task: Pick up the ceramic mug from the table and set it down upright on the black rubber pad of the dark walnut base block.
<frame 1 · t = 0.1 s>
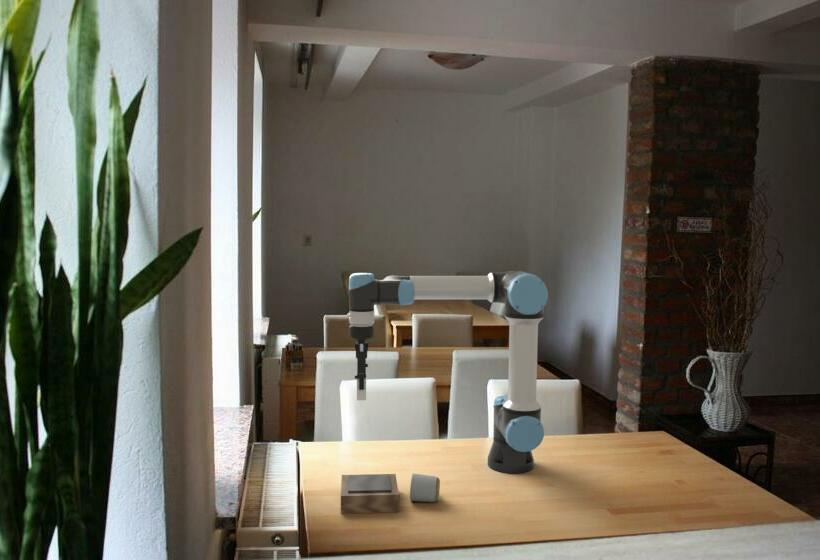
hand: (361, 394, 220), 28 cm above the table, tool pointing down, fingers open, 13 cm apart
ceramic mug: (424, 499, 212), on the table
walnut base: (369, 501, 210), on the table
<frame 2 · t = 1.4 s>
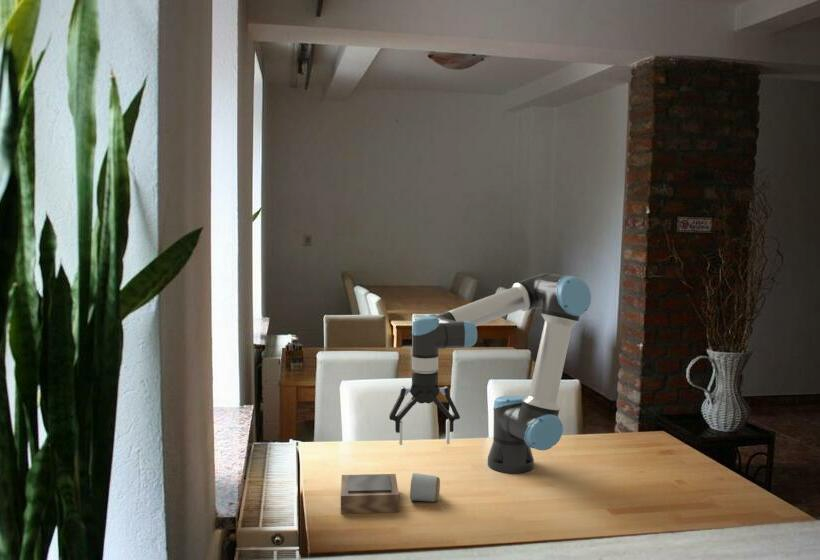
hand: (424, 443, 210), 17 cm above the table, tool pointing down, fingers open, 13 cm apart
nothing on the table moved.
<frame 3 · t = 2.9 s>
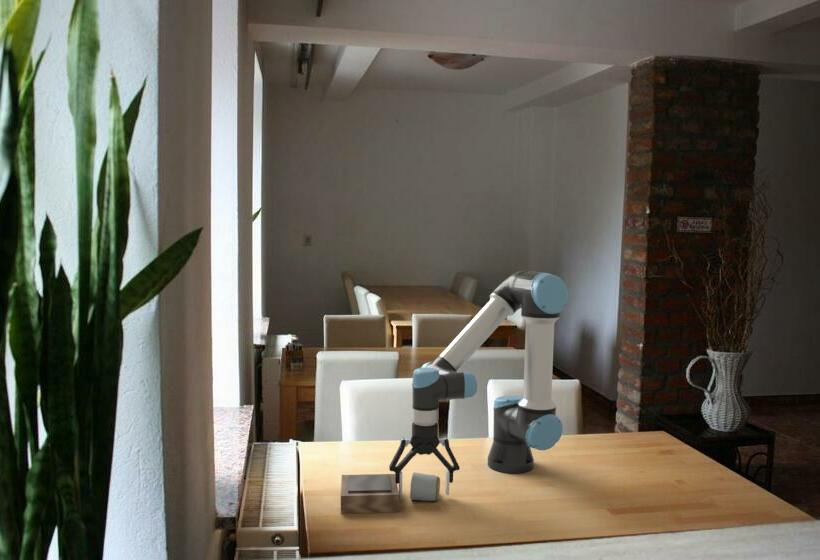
hand: (423, 493, 212), 1 cm above the table, tool pointing down, fingers open, 13 cm apart
nothing on the table moved.
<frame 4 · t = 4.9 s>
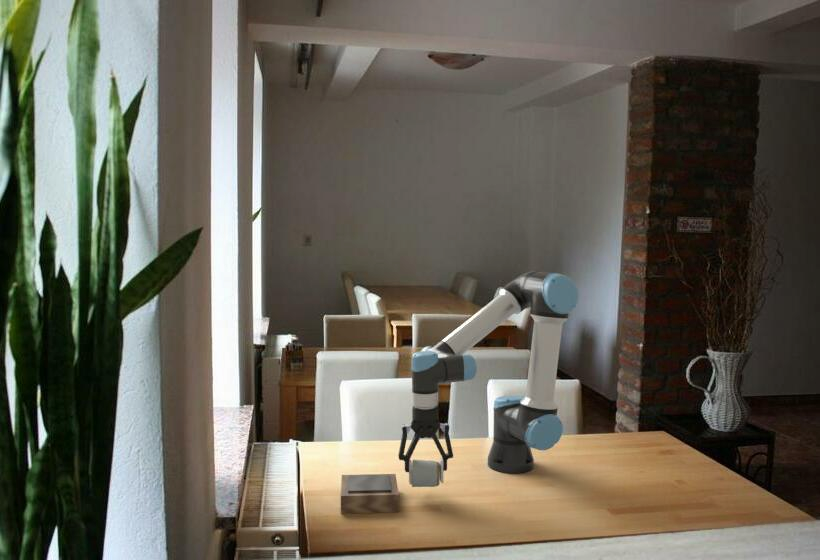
hand: (426, 481, 212), 5 cm above the table, tool pointing down, fingers closed on ceramic mug, 8 cm apart
ceramic mug: (425, 484, 212), point 4 cm above the table, touching gripper
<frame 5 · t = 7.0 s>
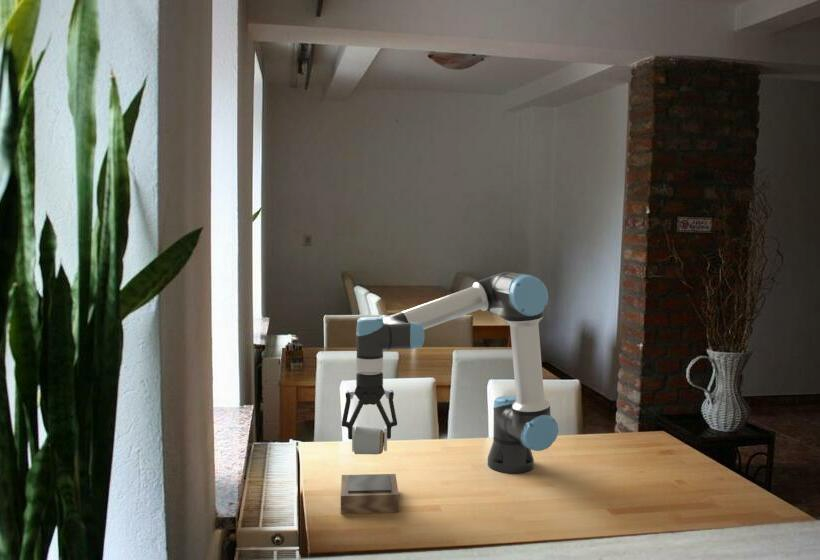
hand: (369, 449, 208), 15 cm above the table, tool pointing down, fingers closed on ceramic mug, 8 cm apart
ceramic mug: (368, 452, 209), point 14 cm above the table, touching gripper
when the fingers open (8 cm above the table, at t = 9.1 s): ceramic mug drops 1 cm, resting on walnut base.
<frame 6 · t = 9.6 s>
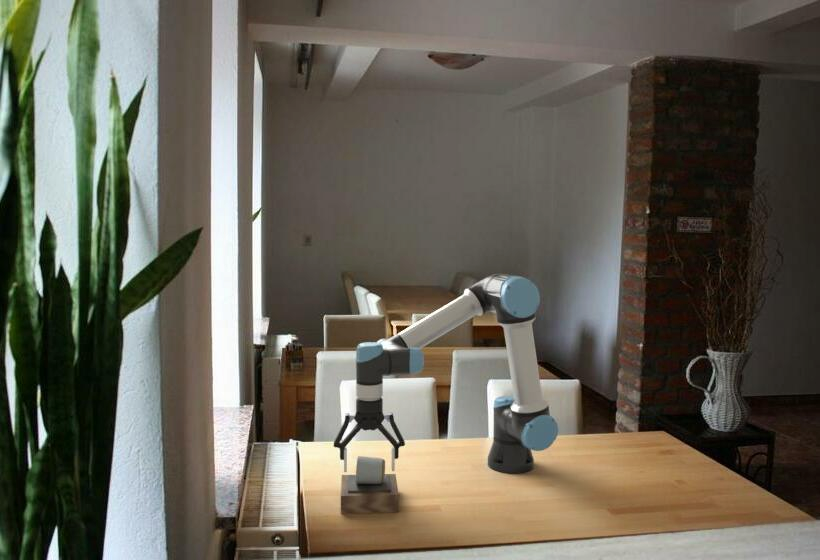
hand: (369, 470, 209), 9 cm above the table, tool pointing down, fingers open, 13 cm apart
ceramic mug: (369, 482, 210), point 5 cm above the table, touching walnut base
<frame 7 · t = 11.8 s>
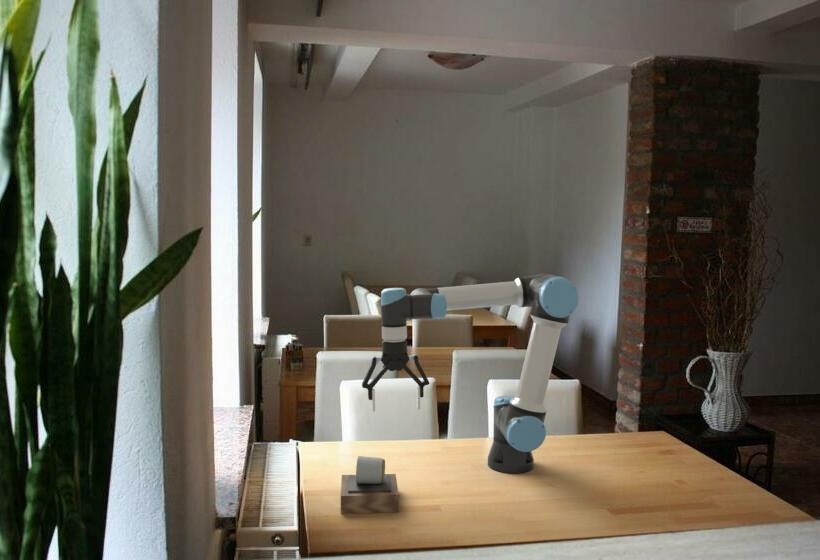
hand: (396, 409, 220), 23 cm above the table, tool pointing down, fingers open, 13 cm apart
nothing on the table moved.
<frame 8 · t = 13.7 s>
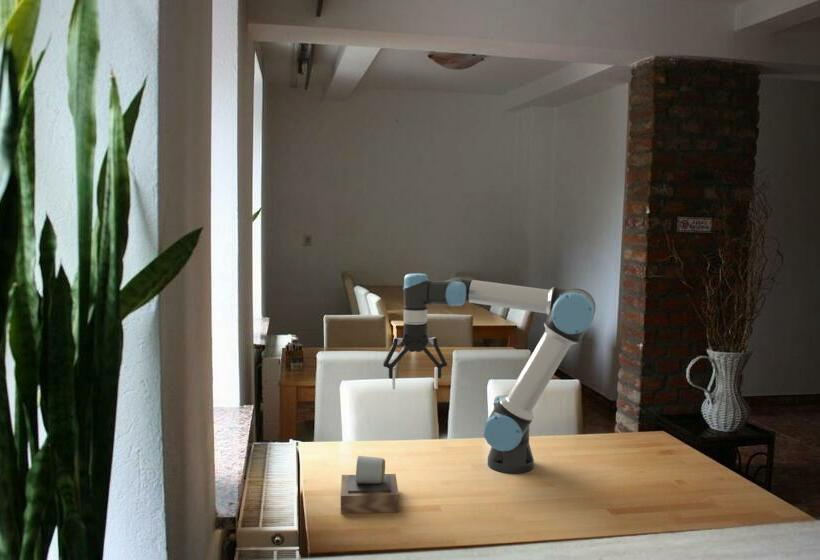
hand: (414, 388, 233), 27 cm above the table, tool pointing down, fingers open, 13 cm apart
nothing on the table moved.
at the end: ceramic mug inside the target area on the walnut base (1.1 cm from its centre), point 5.4 cm above the walnut base's base; ceramic mug tilted 0°; the gripper is holding nothing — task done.
